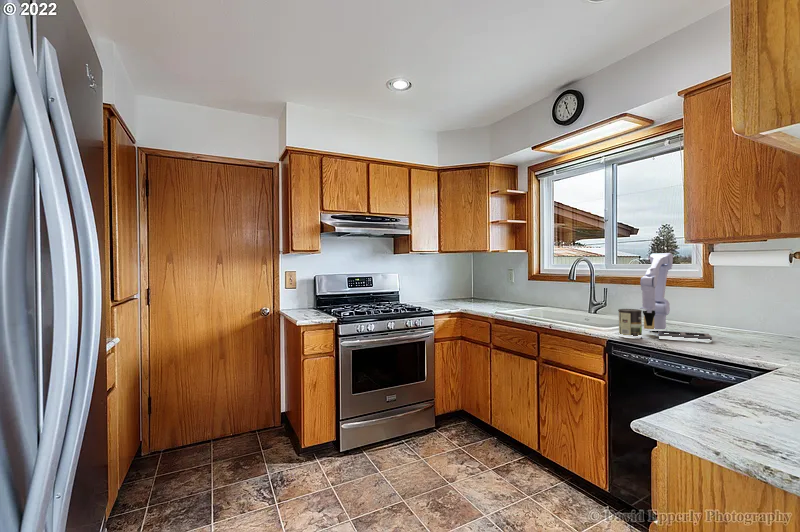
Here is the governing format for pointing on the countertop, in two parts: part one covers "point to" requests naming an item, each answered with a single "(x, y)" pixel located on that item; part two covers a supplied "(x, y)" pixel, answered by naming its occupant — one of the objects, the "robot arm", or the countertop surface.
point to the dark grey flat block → (685, 334)
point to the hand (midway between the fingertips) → (649, 324)
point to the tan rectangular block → (648, 326)
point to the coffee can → (630, 322)
